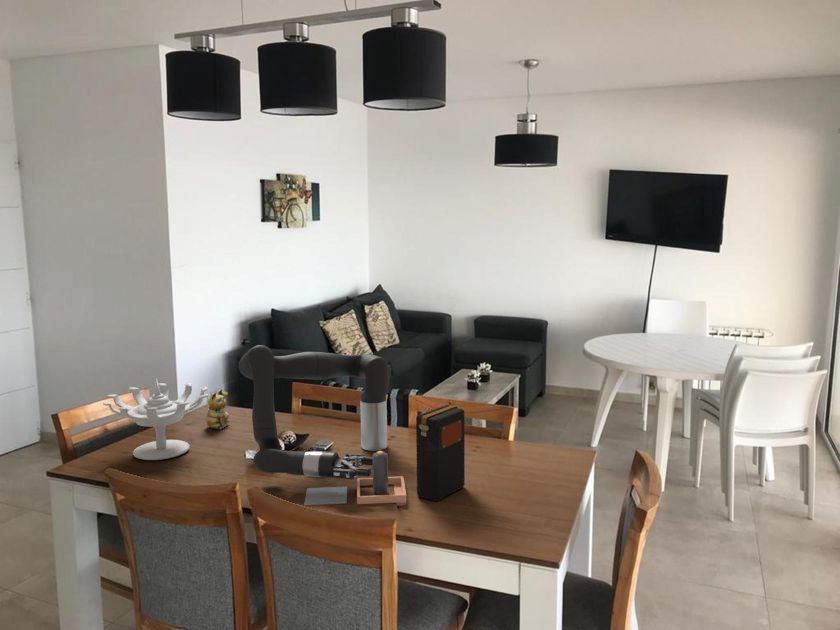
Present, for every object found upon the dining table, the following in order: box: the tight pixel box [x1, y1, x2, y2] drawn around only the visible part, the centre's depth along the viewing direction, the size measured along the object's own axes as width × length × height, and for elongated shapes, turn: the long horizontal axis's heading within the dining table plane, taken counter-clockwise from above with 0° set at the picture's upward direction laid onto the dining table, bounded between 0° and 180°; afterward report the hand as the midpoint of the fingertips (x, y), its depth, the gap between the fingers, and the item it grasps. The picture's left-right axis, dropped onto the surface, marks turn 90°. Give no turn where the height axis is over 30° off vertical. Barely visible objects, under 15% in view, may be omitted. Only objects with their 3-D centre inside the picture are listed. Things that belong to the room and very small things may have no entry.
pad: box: [303, 486, 348, 506], centre depth 199 cm, size 12×12×1 cm
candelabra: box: [102, 377, 209, 461], centre depth 237 cm, size 34×35×27 cm
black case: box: [415, 404, 466, 502], centre depth 201 cm, size 16×9×25 cm, turn 141°
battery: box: [372, 450, 389, 495], centre depth 199 cm, size 4×4×13 cm
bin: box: [356, 475, 407, 506], centre depth 200 cm, size 14×14×3 cm
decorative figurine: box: [205, 389, 231, 430], centre depth 266 cm, size 10×8×15 cm
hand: (374, 467), depth 200 cm, fingers open, 8 cm apart
